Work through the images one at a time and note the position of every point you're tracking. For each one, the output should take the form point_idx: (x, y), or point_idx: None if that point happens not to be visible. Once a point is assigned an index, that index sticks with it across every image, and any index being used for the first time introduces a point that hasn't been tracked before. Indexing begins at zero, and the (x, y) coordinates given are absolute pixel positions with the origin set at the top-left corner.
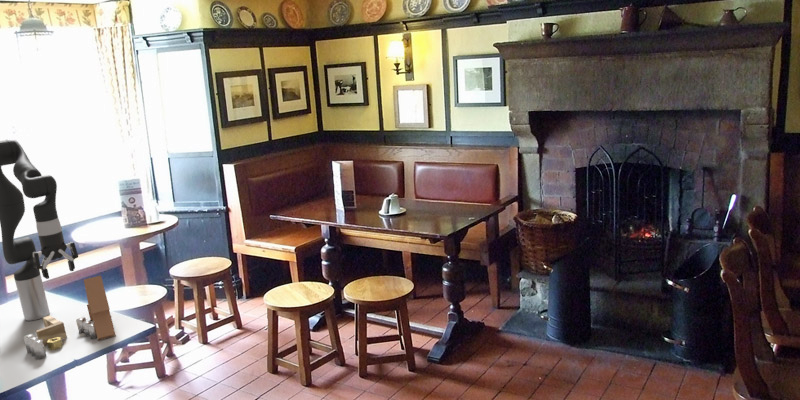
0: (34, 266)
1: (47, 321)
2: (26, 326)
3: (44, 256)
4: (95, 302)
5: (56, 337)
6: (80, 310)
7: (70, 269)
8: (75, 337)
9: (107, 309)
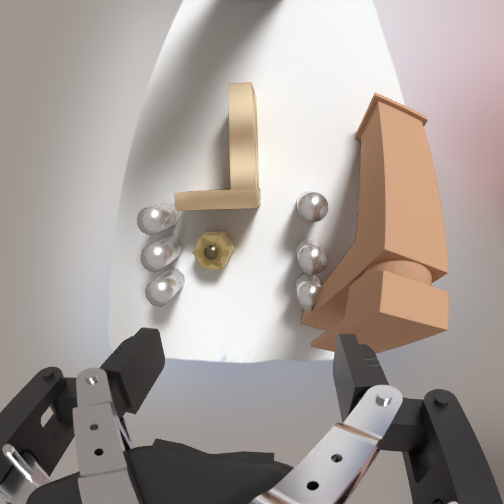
0: (38, 380)
1: (229, 127)
2: (218, 17)
3: (77, 448)
4: None
5: (220, 241)
6: (360, 34)
7: (336, 358)
8: (275, 228)
9: None
